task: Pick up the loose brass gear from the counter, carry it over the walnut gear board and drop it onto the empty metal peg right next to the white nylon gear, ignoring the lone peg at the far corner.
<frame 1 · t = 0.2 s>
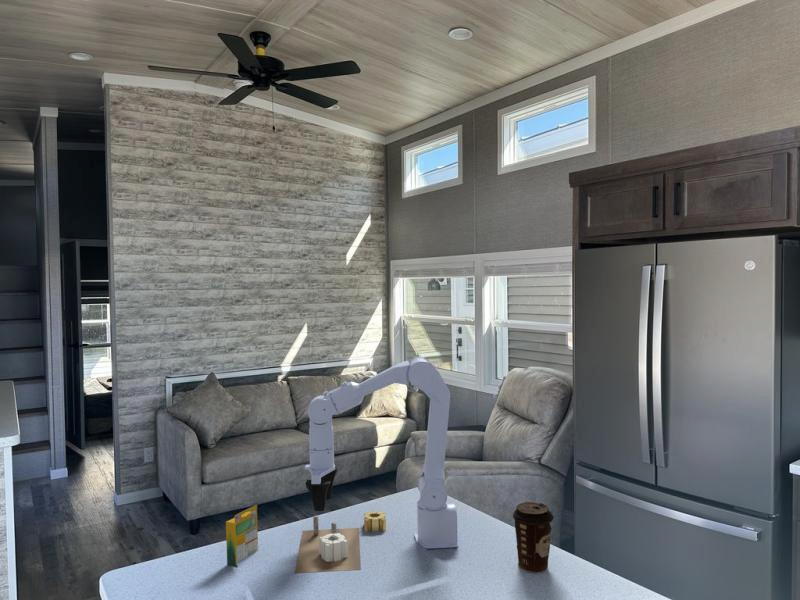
hand: (322, 504, 139), 10 cm above the kitchen island, tool pointing down, fingers open, 7 cm apart
gear board: (329, 552, 136), on the kitchen island
brass gear: (374, 531, 148), on the kitchen island
nylon gear: (333, 556, 132), point 1 cm above the kitchen island, touching gear board
crayon box: (242, 560, 133), on the kitchen island
coffee cup: (533, 567, 128), on the kitchen island
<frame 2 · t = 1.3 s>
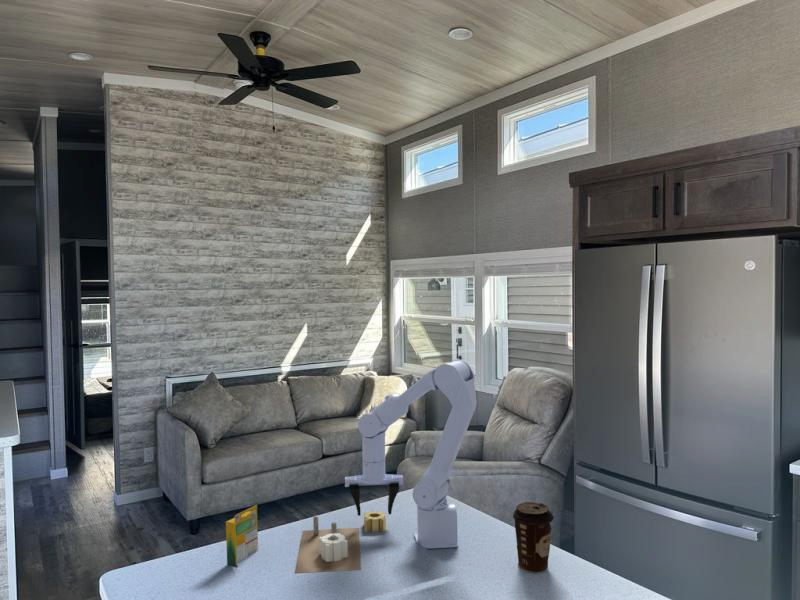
hand: (374, 513, 148), 4 cm above the kitchen island, tool pointing down, fingers open, 7 cm apart
nothing on the kitchen island moved.
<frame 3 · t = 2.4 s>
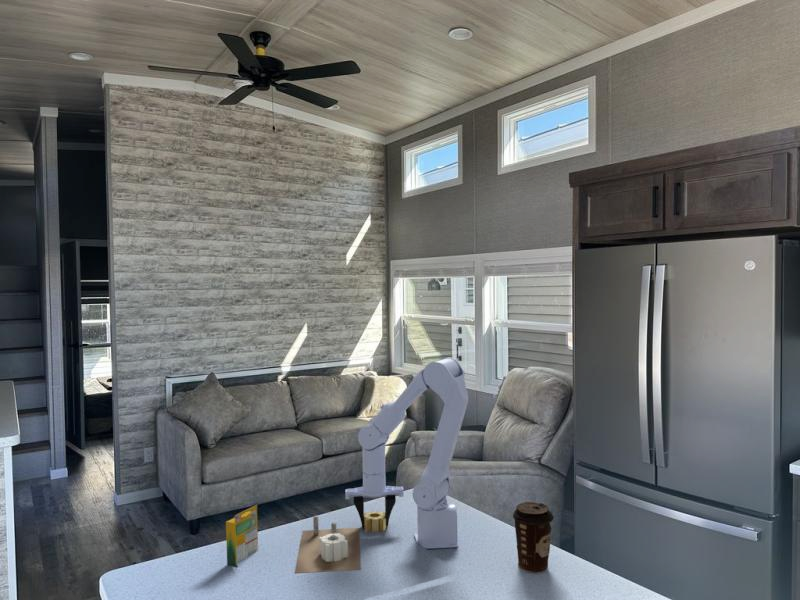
hand: (374, 525, 148), 1 cm above the kitchen island, tool pointing down, fingers closed on brass gear, 5 cm apart
brass gear: (374, 531, 148), on the kitchen island, touching gripper
everything else where it was.
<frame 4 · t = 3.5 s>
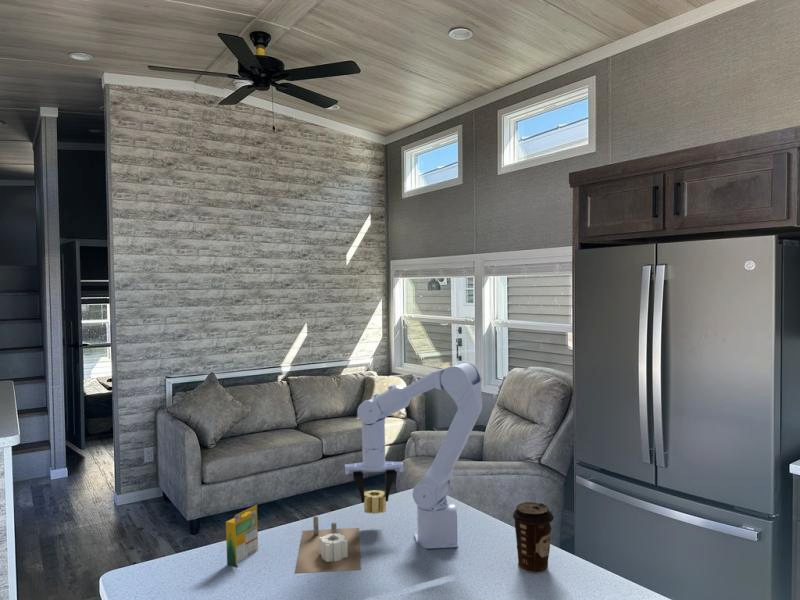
hand: (374, 500, 147), 8 cm above the kitchen island, tool pointing down, fingers closed on brass gear, 5 cm apart
brass gear: (374, 509, 148), point 5 cm above the kitchen island, touching gripper
everything else where it was.
when the fingers open (9 cm above the kitchen island, at t = 4.6 s): brass gear stays where it is, resting on gear board.
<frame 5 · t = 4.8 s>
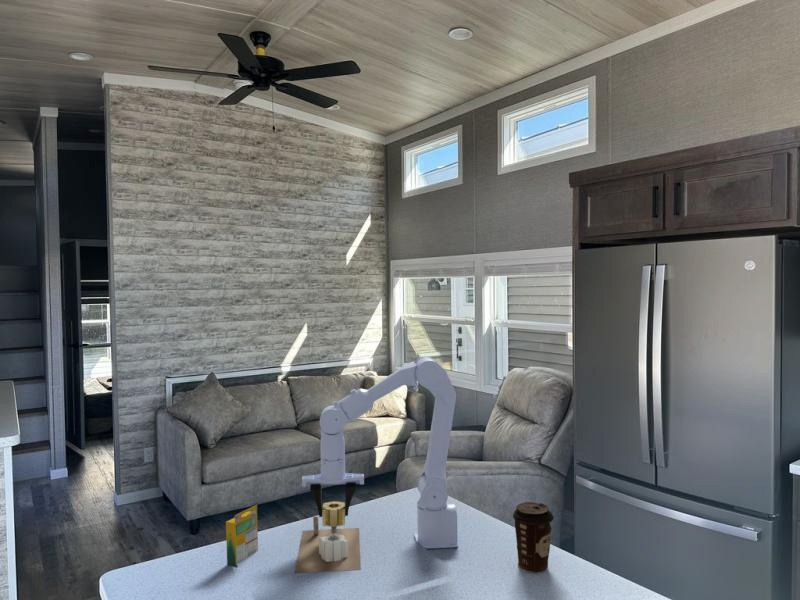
hand: (333, 514, 139), 8 cm above the kitchen island, tool pointing down, fingers open, 5 cm apart
brass gear: (334, 522, 140), point 6 cm above the kitchen island, touching gear board, gripper
everything else where it was.
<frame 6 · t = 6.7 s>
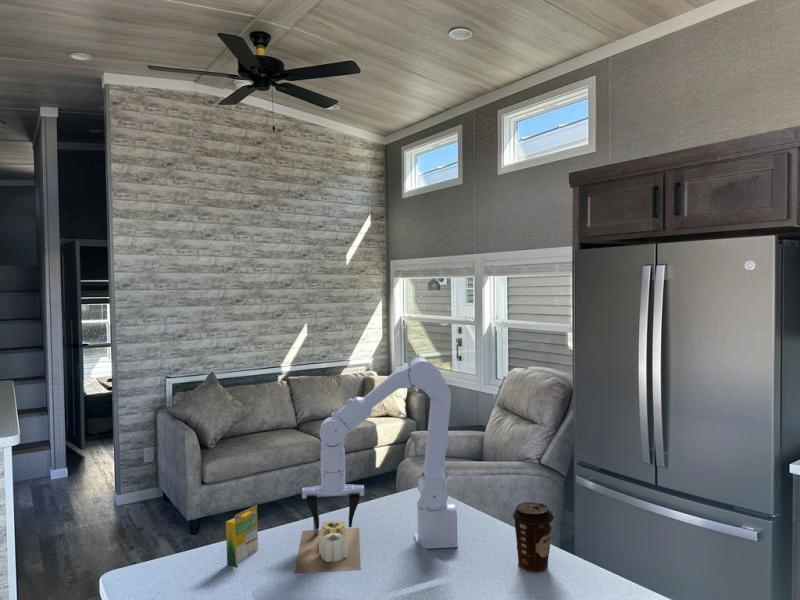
hand: (333, 526, 139), 5 cm above the kitchen island, tool pointing down, fingers open, 7 cm apart
brass gear: (333, 541, 140), point 1 cm above the kitchen island, touching gear board
everything else where it was.
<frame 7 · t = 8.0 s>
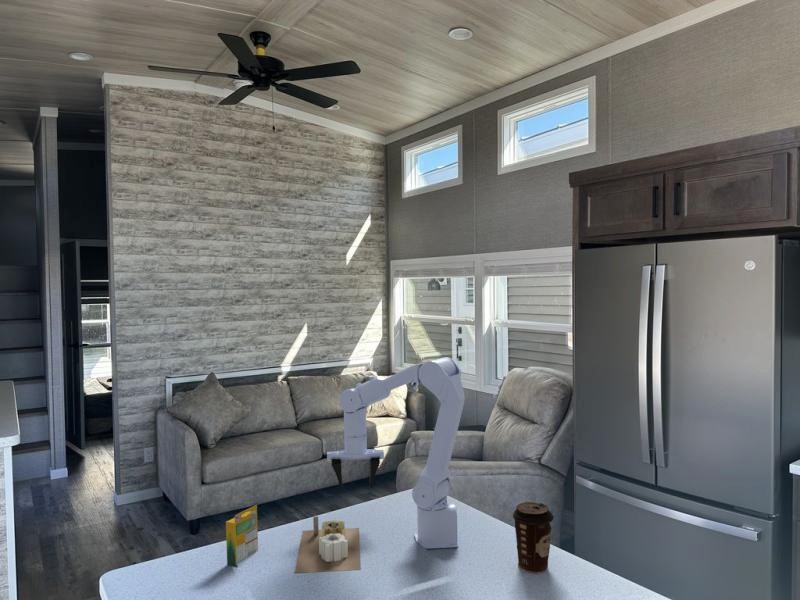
hand: (356, 487, 151), 10 cm above the kitchen island, tool pointing down, fingers open, 7 cm apart
nothing on the kitchen island moved.
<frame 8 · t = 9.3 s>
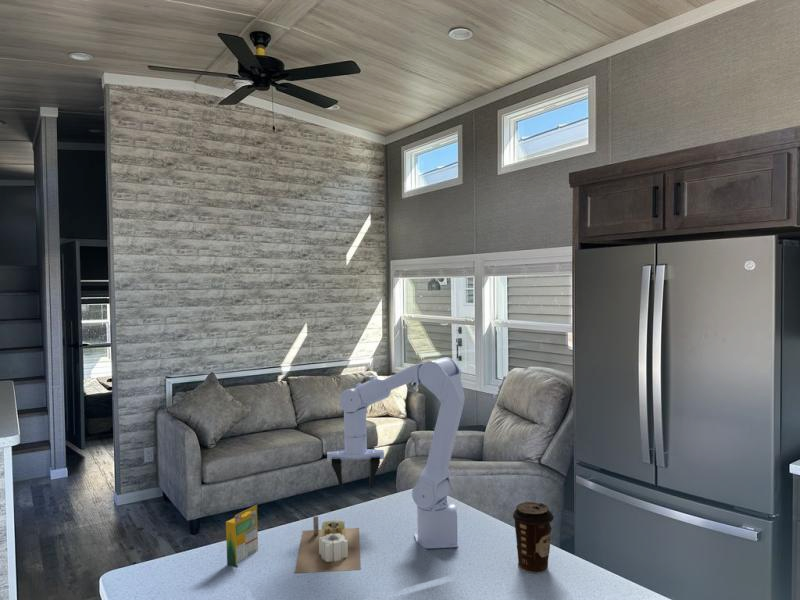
hand: (356, 487, 151), 10 cm above the kitchen island, tool pointing down, fingers open, 7 cm apart
nothing on the kitchen island moved.
at the end: brass gear 0.4 cm from the target spot, point 1.0 cm above the kitchen island; brass gear tilted 0°; the gripper is holding nothing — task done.
